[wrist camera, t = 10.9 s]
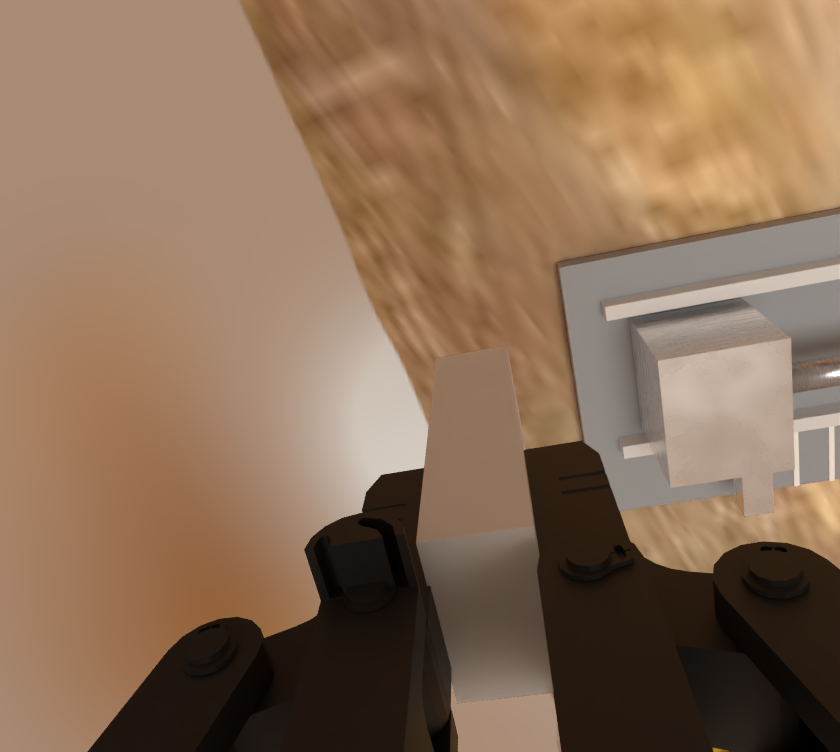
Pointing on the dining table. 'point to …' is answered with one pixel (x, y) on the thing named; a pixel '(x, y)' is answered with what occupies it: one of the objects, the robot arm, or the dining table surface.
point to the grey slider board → (694, 286)
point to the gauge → (722, 396)
